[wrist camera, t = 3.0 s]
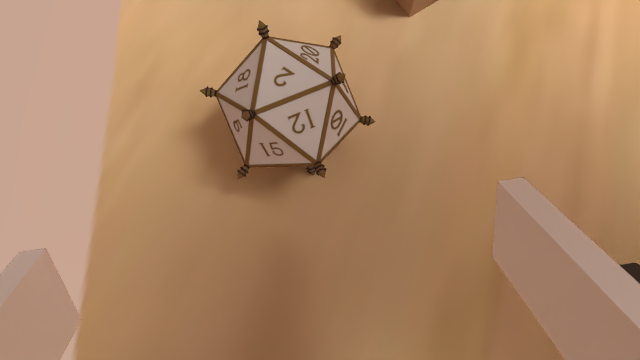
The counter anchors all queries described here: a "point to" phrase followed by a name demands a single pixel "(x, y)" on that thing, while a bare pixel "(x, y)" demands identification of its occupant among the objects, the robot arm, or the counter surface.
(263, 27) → the game die
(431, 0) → the walnut block
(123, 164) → the counter surface
